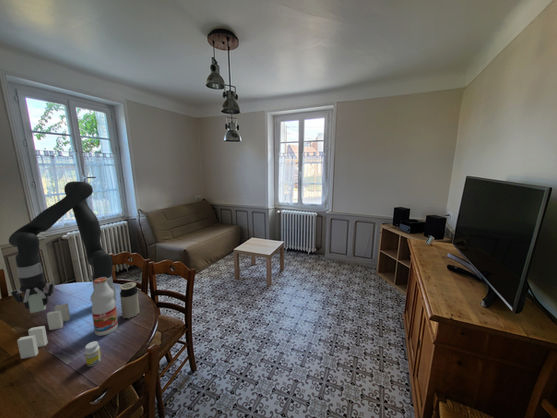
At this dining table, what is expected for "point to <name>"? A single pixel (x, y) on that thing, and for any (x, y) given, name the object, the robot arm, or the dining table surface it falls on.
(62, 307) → the domino
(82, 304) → the dining table surface
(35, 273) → the robot arm
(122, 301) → the travel mug
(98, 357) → the supplement bottle
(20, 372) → the dining table surface
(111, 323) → the fruit juice
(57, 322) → the domino
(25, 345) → the domino
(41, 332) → the domino
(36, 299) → the domino
